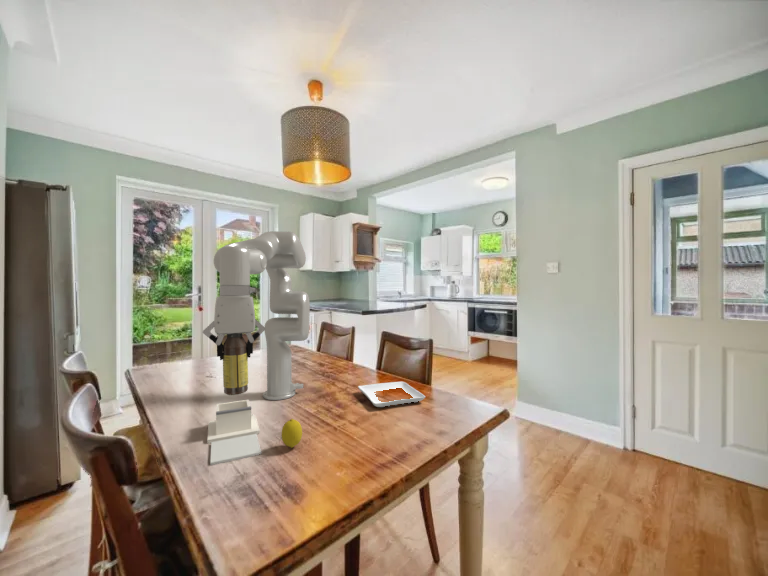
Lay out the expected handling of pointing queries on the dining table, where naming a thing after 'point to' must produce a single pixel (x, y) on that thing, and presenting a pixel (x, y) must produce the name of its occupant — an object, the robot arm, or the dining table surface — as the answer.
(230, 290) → the robot arm
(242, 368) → the sauce bottle
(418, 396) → the salad plate
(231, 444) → the mat
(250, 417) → the caddy
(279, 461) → the dining table surface
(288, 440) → the lemon
